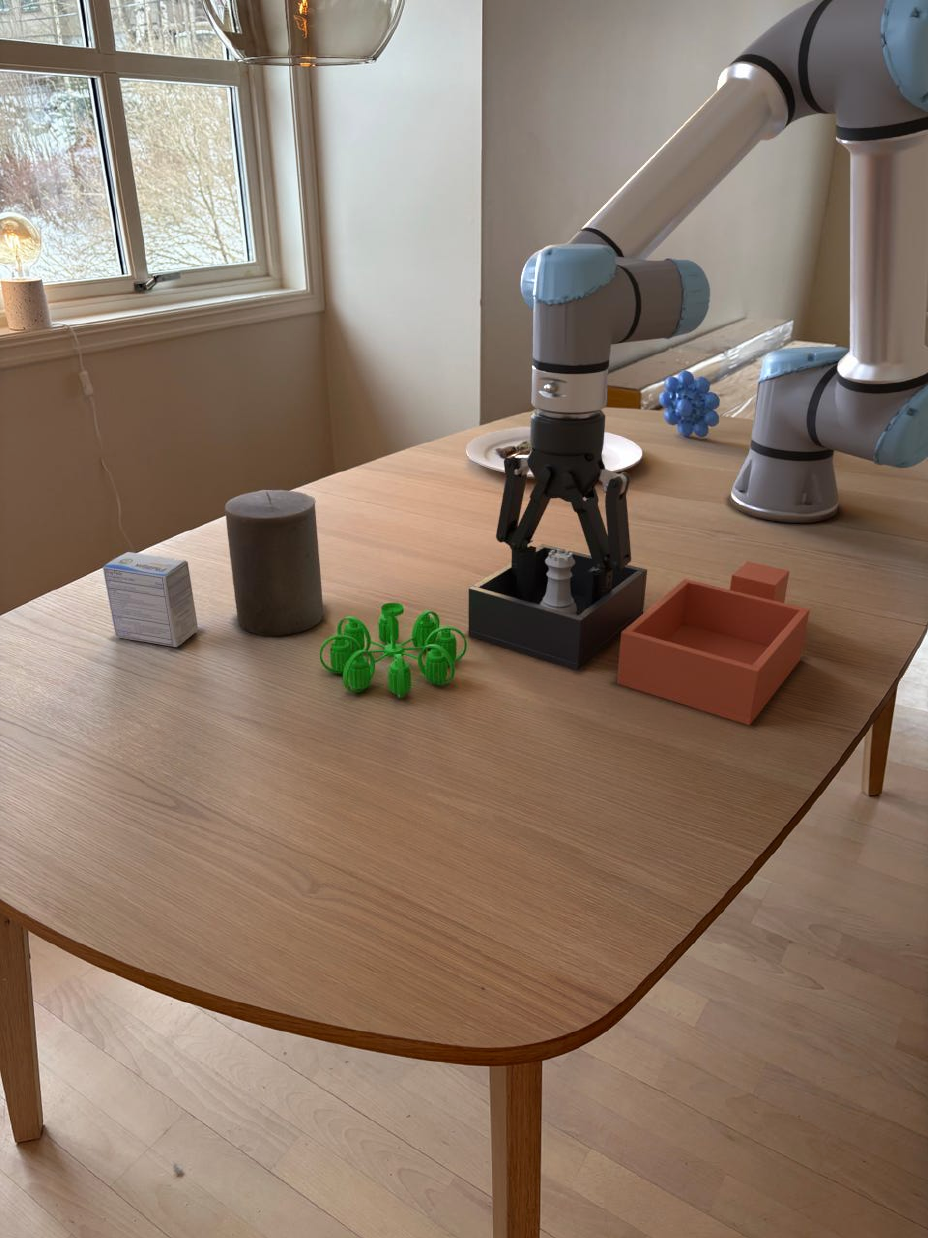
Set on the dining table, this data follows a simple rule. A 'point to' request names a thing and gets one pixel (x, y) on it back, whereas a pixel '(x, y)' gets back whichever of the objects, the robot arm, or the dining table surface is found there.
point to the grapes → (689, 404)
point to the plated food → (514, 440)
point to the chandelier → (393, 650)
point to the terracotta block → (760, 581)
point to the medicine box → (151, 598)
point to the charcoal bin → (555, 612)
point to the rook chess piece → (559, 582)
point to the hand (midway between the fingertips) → (558, 612)
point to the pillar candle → (275, 561)
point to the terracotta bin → (713, 649)
